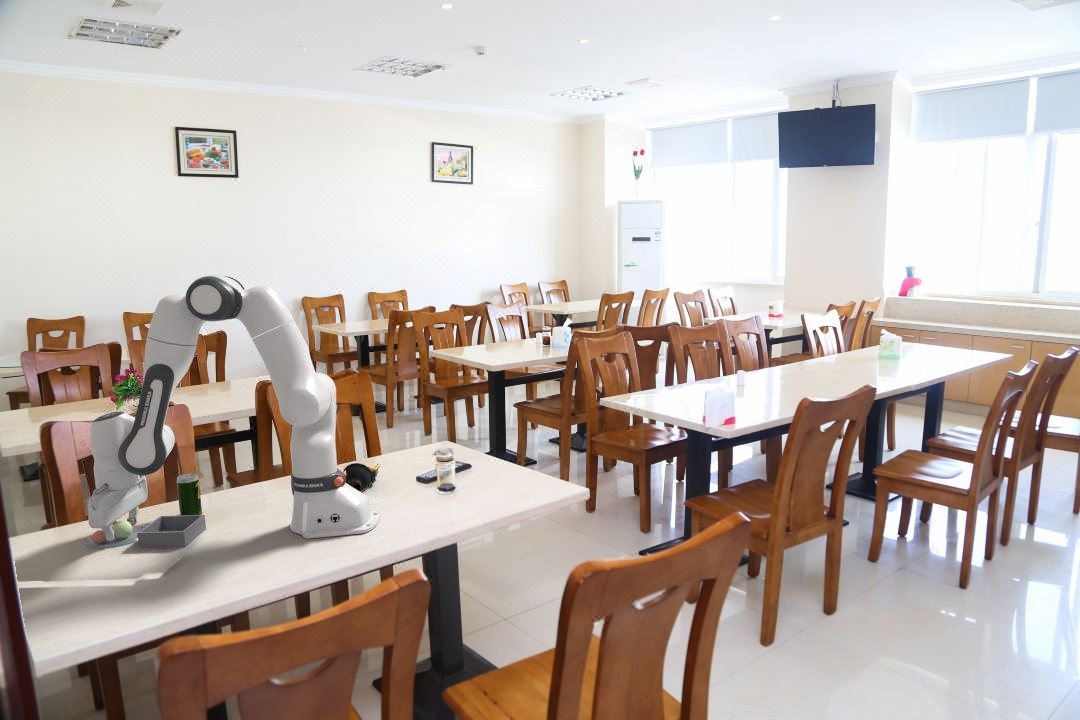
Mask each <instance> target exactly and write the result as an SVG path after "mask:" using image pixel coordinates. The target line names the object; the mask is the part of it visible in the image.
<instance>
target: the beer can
mask: <svg viewBox="0 0 1080 720" xmlns="http://www.w3.org/2000/svg"><path fill="white" fill-rule="evenodd" d="M199 480H200V479H199V476H198V474H197V473H185V474H181V475H178V476H177V478H176V489H177V498H178V507H179V516H180V515H203V509H202V498H201V497H202V496H201V489H200V481H199Z"/></svg>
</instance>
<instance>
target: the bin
mask: <svg viewBox="0 0 1080 720" xmlns="http://www.w3.org/2000/svg"><path fill="white" fill-rule="evenodd" d="M206 523H207V522H206V515H205V514H202V515H180V514H179V515H160V516H158V517H157V518H156V519H154V520H153V521H152V522H150V523H149V524H148V525H146V527H145V528H143V529H142V530H141V531H139V532H138V533H137V537H138V541H137V544H138V549H172V548H173V549H174V548H175V549H176V548H180V549H181V548H187V547H188V546H189V545H190V544H191V543H192V542H194V541H195V540H196V539H197V538H198V537H199V536H201V534H202V533H203V534H204V532H205V531H206V530H207V525H206Z"/></svg>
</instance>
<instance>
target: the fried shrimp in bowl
mask: <svg viewBox="0 0 1080 720" xmlns="http://www.w3.org/2000/svg"><path fill="white" fill-rule="evenodd" d="M380 468H381V464H380V463H377V464H376V465H374V467H371V466H367V465H365V464H363V463H359V462H354V463H350V464H348V465H347V466H345V468H344V469H343V471H342V472H344V471H345V470H346V476H345V477H346V483H347V484H348V485H350V486H351V487H353V488H355V489H356V490H358V491H360V492H362V491H363V490H365V489H366V488H367V487H371V485H373V484H374V483H375V482H376V481H377V479H376V477H377V476H378V474H379V469H380Z"/></svg>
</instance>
